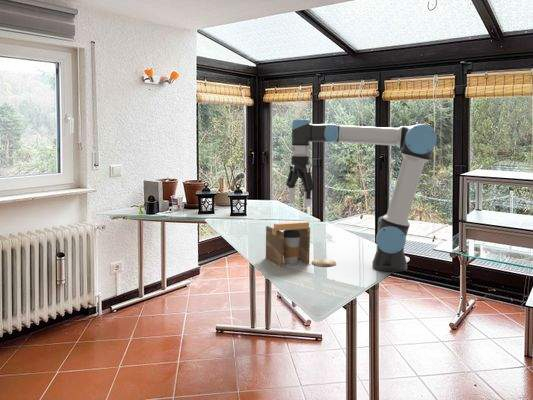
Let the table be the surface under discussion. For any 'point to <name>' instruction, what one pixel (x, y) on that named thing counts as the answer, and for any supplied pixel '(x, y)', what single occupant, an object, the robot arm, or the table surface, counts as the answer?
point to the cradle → (277, 244)
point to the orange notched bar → (290, 226)
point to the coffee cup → (291, 246)
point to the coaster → (323, 262)
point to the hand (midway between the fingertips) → (299, 204)
